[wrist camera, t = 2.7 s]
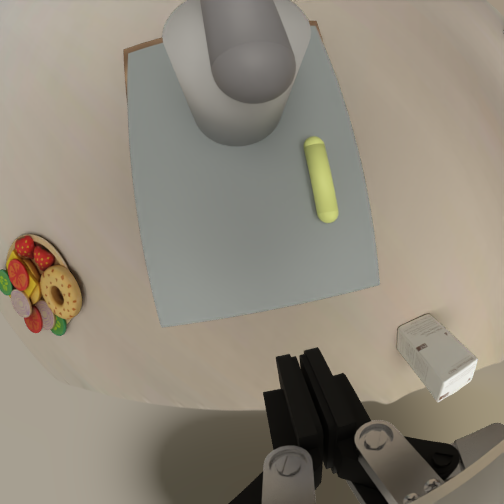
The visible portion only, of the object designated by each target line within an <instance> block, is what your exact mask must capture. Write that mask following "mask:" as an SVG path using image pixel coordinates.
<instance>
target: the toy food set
mask: <svg viewBox="0 0 504 504" xmlns="http://www.w3.org/2000/svg"><path fill="white" fill-rule="evenodd" d="M0 290H1V291H2V292H3V293H4V294H5V295H9V296H10V298H11V302H12V305H13V307H14V309H15V311H16V312H17V313H18V314H19V315H20V316H21V317H24V320H25V323H26V325H27V327H28V328H29V330H30V331H32V332H33V333H39V332H40V331H41V329H42V328H44V329H46V330H51V331H52V332H53V333H54V334H55V335H58V336H61V335H63V334H64V333H65V332H66V328H67V327H66V325H67V324H68V323H69V322H70V320H71V318H73V317H75V316H76V315H77V314H78V313H79V312H80V309H81V305H82V297H81V292H80V288H79V286H78V284H77V282H76V280H75V278H74V276H73V275H72V274H71V272H70V271H69V269H68V267H67V265H66V263H65V261H64V259H63V258H62V256H61V255H60V253H59V252H58V251H57V250H56V249H55V248H54V246H53V245H51V244H50V243H49V242H48V241H46V240H45V239H43V238H42V237H39V236H37V235H32V234H27V235H22V236H20V237H18V238H17V239H16V240H15V241H14V242H13V243H12V245H11V247H10V249H9V251H8V255H7V260H6V271H5V270H3V269H2V270H0Z"/></svg>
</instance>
